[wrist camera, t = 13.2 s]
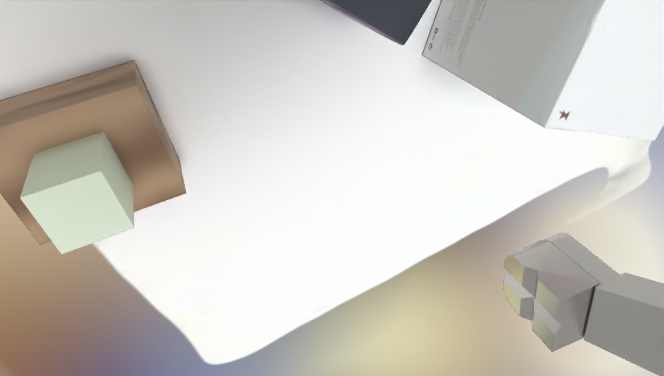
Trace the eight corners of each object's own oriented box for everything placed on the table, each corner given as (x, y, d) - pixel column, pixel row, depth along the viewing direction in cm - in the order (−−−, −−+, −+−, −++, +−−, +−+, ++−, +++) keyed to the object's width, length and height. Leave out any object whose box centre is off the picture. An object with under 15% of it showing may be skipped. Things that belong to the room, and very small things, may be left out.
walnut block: (-20, 106, 37) (-41, 140, 32) (134, 60, 39) (136, 85, 34) (49, 204, 43) (40, 245, 38) (179, 160, 45) (186, 193, 40)
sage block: (33, 153, 34) (19, 198, 30) (103, 131, 35) (100, 170, 30) (69, 206, 37) (61, 254, 33) (132, 184, 38) (134, 227, 33)
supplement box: (514, 75, 54) (654, 146, 40) (418, 56, 48) (541, 132, 34) (590, -97, 46) (798, -84, 32) (485, -143, 40) (682, -152, 26)
